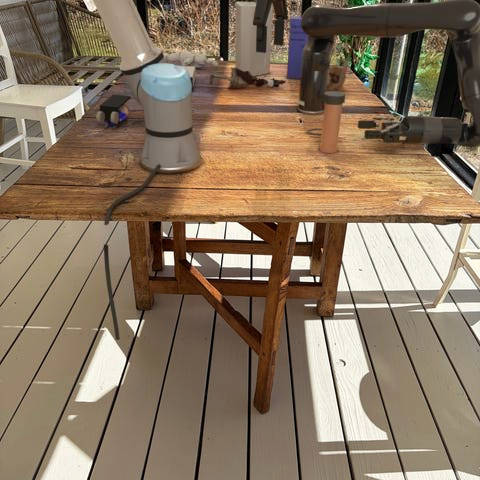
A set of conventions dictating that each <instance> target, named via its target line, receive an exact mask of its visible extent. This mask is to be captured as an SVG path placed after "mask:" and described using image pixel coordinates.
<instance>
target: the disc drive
mask: <svg viewBox="0 0 480 480" xmlns="http://www.w3.org/2000/svg"><path fill="white" fill-rule="evenodd" d="M180 66H181V67H183V68H185V69H186V70H187V71H188V72H189V74H190V79H191V83H192V84H191V85H192V90H191V91H194V85H195V81H196V78H197V73H196V72H197V71H196V69H197V68H196V67H195V66H194V65H189V66H182V65H180Z"/></svg>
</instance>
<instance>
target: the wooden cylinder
mask: <svg viewBox="0 0 480 480" xmlns="http://www.w3.org/2000/svg"><path fill="white" fill-rule="evenodd" d="M343 104H344V103H342V104H329V103H325V105H324V113H323V115H322V127H321V135H320V145H319V151H320V152H321V153H324V154H334V153H337V151H338V144H339V136H340V129H341V128H340V127H341V120H342V113H343Z"/></svg>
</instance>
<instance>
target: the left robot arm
mask: <svg viewBox="0 0 480 480" xmlns="http://www.w3.org/2000/svg"><path fill="white" fill-rule="evenodd" d="M92 2H93V4H94V6H95V8H96V10H97V12H98V14H99V16H100V18H101V20H102V22H103V24H104V26H105V28H106V30H107V33H108V34H109V36H110V38H111V40H112V42H113V44H114V46H115V48H116V50H117V52H118V55H119V57H120V59H121V61H120V64H119V70H120V72H121V74H122V75H123V78H124V80H125V82H126V85H127V89H128V92H129V94H130V96H131V98H133V99H134V100H135V101H136V102H137V103H138V104H139V105H140V106H141V107H142V108H143V115H144V125H145V138H144V142H143V146H142V150H141V154H140V162H141V166H142V168H144V169H145V170H146V171H149V172H151V173H150V174H149V175H148V177H147V178H146V180H145V181H144V182H143V183H142V184H141V185H140V186H139V187H137V188H136V189H134V190H133V191H130V192H129V193H127V194H125V195H122V196H121V197H119V198H117V199H116V200H115V201H114V202H113V203H111V204H110V205H109V207H108V208H107V210H106V214H105V218H104V223H103V225H104V226H108V225H109V224H110V220H111V215H112V212H113V210H114V209H115V208H116V207H117V206H118V205H119V204H121V203H122V202H123V201H125V200H128V199H130V198H131V197H133V196H135V195H137V194H138V193H140V192H141V191H143V190H144V189H145V188H146V187H147V186H148V185H149V183H150V182H151V180H152V179H153V178H154V176H155V175H156V174H163V175H164V174H165V175H169V174H170V175H172V174H173V175H175V174H182V173H187V172H190V171H193V170H195V169H197V168H198V167H199V166H201V163H202V155H201V151H200V149H199V146H198V143H201V137H200V136H198V135H196V134H195V133H194V130H193V129H194V126H193V101H192V100H193V99H192V98H193V97H192V91H193V90H192V85H191V84H192V83H191V79H190V74H189V72H188V71H187V70H186V69H185V68H183V67H181V66H182V65H176V64H173V63H168V61H166V59H165V57H164V55H163V53H164V52H163V51H162V48H160V47H159V46H156V45H154V43H153V42H152V40H151V38H150V35H149V34H148V32H147V28H146V27H145V25H144V22H143V20H142V18H141V15H140V13H139V11H138V9H137V7H136V4H135V2H134V0H92ZM287 2H288V1H287V0H256V2H255V3H256V8H255V13H254V18H253V25H254V26H257V30H256V52H261V53H266V48H267V26H266V22H267V19H268V15H269V12H270V9H271V5H272V4H273V11H274V14H275V19H274V25H273V26H274V28H273V45H274V46H284V42H285V41H284V40H285V38H284V37H285V21H288V20H289V12H288V11H289V10H288V3H287ZM197 142H198V143H197ZM109 255H110V254H109V244H103V259H104V271H105V279H106V280H105V281H106V288H107V295H108V300H109V305H110V306H109V307H110V311H111V317H112V323H113V330H114V337H115V340H116V341H119V340H120V338H121V337H120V330H119V324H118V318H117V311H116V308H115V307H116V306H115V300H114V293H113V288H112V280H111V271H110V256H109Z"/></svg>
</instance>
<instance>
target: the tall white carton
mask: <svg viewBox="0 0 480 480" xmlns="http://www.w3.org/2000/svg"><path fill="white" fill-rule="evenodd" d="M255 8H256V2H252V1H235V59H234V60H235V62H234V63H235V65H234V66H235V67H234V68H237V69H240V70H242V71H244V72H245V71H249V72H250V73H251V75H252V76H256V77H257V76H259V75H260V76H261V75H266V74H270V73H271V56H272V55H271V54H272V33H273V32H272V31H273V11H274V7H273V3H272V5H271V9H270V12H269V15H268V19H267V22H266V26H267V48H266V53H261V52H256V30H257V26H254V25H253V18H254V13H255Z"/></svg>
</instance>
